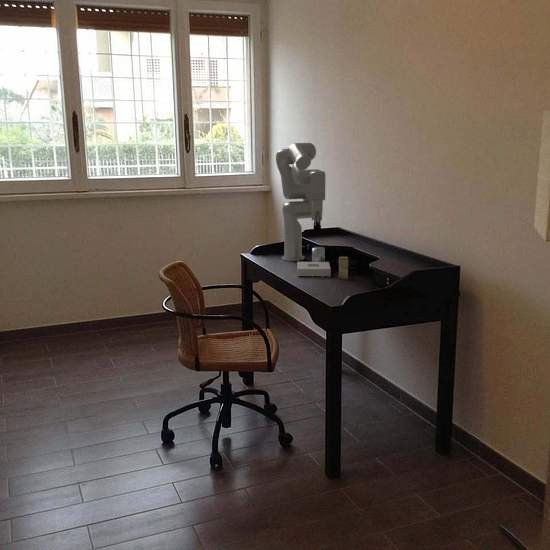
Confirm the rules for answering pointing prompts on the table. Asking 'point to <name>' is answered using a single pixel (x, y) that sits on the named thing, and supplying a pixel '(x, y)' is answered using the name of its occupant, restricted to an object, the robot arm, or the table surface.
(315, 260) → the grey block
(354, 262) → the end cap
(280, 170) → the robot arm
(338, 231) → the table surface
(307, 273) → the socket block
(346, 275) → the square peg
